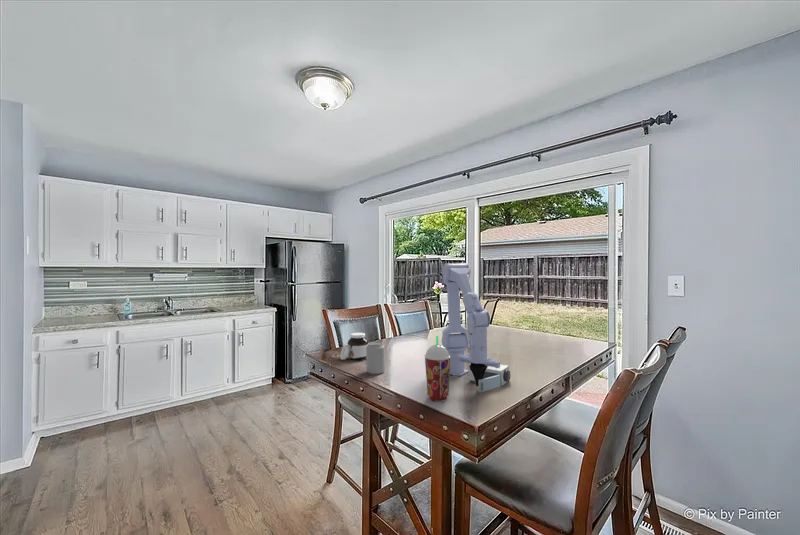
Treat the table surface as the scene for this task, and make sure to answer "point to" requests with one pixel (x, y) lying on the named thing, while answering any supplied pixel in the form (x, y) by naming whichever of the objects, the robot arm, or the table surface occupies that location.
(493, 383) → the side door
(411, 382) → the table surface
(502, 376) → the camera body
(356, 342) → the spread jar
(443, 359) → the smoothie
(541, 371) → the table surface
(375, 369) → the can
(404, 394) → the table surface
